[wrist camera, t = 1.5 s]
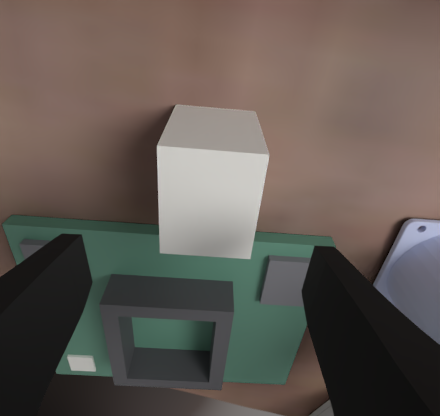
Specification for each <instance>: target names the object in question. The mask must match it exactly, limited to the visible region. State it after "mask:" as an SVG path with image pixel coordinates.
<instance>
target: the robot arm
mask: <svg viewBox="0 0 440 416" xmlns="http://www.w3.org/2000/svg"><path fill="white" fill-rule="evenodd" d="M420 226H422V227H421V228H419V227H420ZM418 228H419V229H418ZM92 283H93V281H92V277H91V272H90V268H89V263H88V259H87V255H86V250H85V246H84V242H83V237H82V234H63V233H62V234H60V235H59V236H57V237H56V238H54V239H53V240H51V241H50V242H49V243H47V244H46V245H44V246H43V247H42V248H40V249H39V250H37V251H36V252H35V253H33V254H32V255H31V256H29V257H28V258H26V259H25V260H24V261H22V262H21V263H20V264H18V265H17V266H15V267H14V268H13V269H11V270H10V271H8V272H7V273H6V274H4V275H3V276H1V277H0V416H37V412H38V410H39V407H40V405H41V402H42V399H43V397H44V395H45V393H46V390H47V388H48V386H49V383H50V381H51V379H52V377H53V375H54V373H55V371H56V369H57V367H58V365H59V362H60V360H61V358H62V356H63V354H64V352H65V350H66V348H67V346H68V344H69V341H70V339H71V337H72V335H73V333H74V331H75V329H76V326H77V324H78V322H79V320H80V318H81V316H82V313H83V311H84V308H85V305H86V302H87V299H88V296H89V293H90V289H91V286H92ZM301 292H302V299H303V305H304V311H305V316H306V321H307V325H308V328H309V332H310V335H311V338H312V342H313V345H314V348H315V352H316V355H317V358H318V362H319V365H320V368H321V371H322V375H323V378H324V381H325V384H326V388H327V391H328V394H329V398H330V402H331V406H332V410H333V414H334V416H440V220H427V219H409V220H407V221H406V222H405V223H404V224H403V226H402V228H401V230H400V232H399V234H398V236H397V238H396V240H395V242H394V244H393V246H392V248H391V250H390V252H389V254H388V256H387V258H386V260H385V262H384V264H383V266H382V268H381V270H380V272H379V274H378V276H377V278H376V280H375V282H374V284H373V285H372V284H371V283H370V282H369V281H368V280H367V279H366V278H365V277H364V276H363V275H362V274H361V273H360V272H359V271H358V270H357V269H356V268H355V267H354V266H353V265H352V264H351V263H350V262H349V261H348V260H347V259H346V258H345V257H344V256H343V255H342V254H341V253H340V252H339V251H338V250H337V249H336V248H335V247H334V246H314V249H313V253H312V256H311V259H310V263H309V266H308V270H307V273H306V277H305V280H304V284H303V287H302V290H301Z"/></svg>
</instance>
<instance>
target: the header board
mask: <svg viewBox="0 0 440 416" xmlns="http://www.w3.org/2000/svg"><path fill="white" fill-rule="evenodd" d="M2 226H3V229H4V231H5V234H6V237H7V239H8V242H9V245H10V248H11V250H12V253H13V256H14V259H15V261H16V264H17V265H18V264H20V263H21V262H22V261H24V260H25V259H26V258H28V257H29V256H31V255H32V254H33V253H35V252H36V251H37V250H39V249H40V248H42V247H43V246H44V245H46V244H47V243H49V242H50V241H51V240H53V239H54V238H56V237H57V236H59V235H60V234H62V233H63V234H82V237H83V242H84V246H85V250H86V255H87V259H88V263H89V268H90V272H91V277H92V281H93V283H92V286H91V289H90V293H89V296H88V299H87V302H86V305H85V308H84V311H83V313H82V316H81V318H80V320H79V322H78V324H77V326H76V329H75V331H74V333H73V335H72V337H71V339H70V341H69V344H68V346H67V348H66V350H65V352H64V354H63V356H62V358H61V360H60V362H59V365H58V367H57V369H56V373H57V374H73V375H93V376H113V380H114V385H121V386H143V387H164V388H186V389H207V390H221V389H222V383H223V382H239V383H260V384H281V385H285V383H286V380H287V378H288V375H289V372H290V369H291V367H292V364H293V361H294V359H295V356H296V353H297V351H298V348H299V345H300V343H301V340H302V337H303V334H304V332H305V329H306V326H307V321H306V316H305V311H304V305H303V299H302V292H301V290H302V287H303V284H304V280H305V277H306V273H307V270H308V266H309V263H310V259H311V256H312V253H313V249H314V246H334V247H335V248H336V246H335V244H334V242H333V240H332V238H331V237H325V236H311V235H296V234H282V233H267V232H255V236H254V242H253V247H252V253H251V258H250V259H239V258H224V257H208V256H193V255H178V254H163V253H160V242H159V225H152V224H137V223H123V222H108V221H94V220H79V219H65V218H50V217H36V216H21V215H11V216H10V217H9V218H8V219H7V220H6V221H5V222H4V223H3V224H2Z"/></svg>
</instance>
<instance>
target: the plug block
mask: <svg viewBox="0 0 440 416" xmlns="http://www.w3.org/2000/svg"><path fill="white" fill-rule="evenodd" d="M268 160H269V152H268V149H267V146H266V142H265V139H264V136H263V133H262V130H261V127H260V124H259V121H258V118H257V115H256V112H255V111H246V110H235V109H223V108H212V107H200V106H188V105H177V104H176V105H175V107H174V110H173V112H172V114H171V116H170V118H169V120H168V123H167V125H166V127H165V129H164V131H163V133H162V136H161V138H160V140H159V142H158V144H157V169H158V206H159V242H160V253H163V254H178V255H193V256H208V257H224V258H239V259H250V258H251V253H252V247H253V242H254V236H255V231H256V225H257V220H258V215H259V209H260V204H261V198H262V193H263V187H264V182H265V176H266V171H267V166H268Z"/></svg>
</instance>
